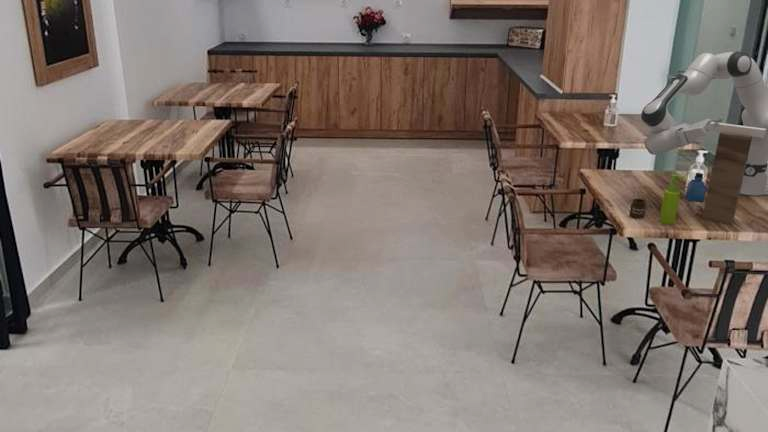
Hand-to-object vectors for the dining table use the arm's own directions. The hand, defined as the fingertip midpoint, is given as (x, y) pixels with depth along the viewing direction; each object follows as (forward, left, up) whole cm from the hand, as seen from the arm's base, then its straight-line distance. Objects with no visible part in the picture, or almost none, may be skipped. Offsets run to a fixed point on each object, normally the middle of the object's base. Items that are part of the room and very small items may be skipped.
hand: (720, 121), depth 260 cm
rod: (0, +6, -4) cm, 7 cm away
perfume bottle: (-20, -6, -40) cm, 45 cm away
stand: (0, +7, -40) cm, 40 cm away
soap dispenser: (+16, -10, -40) cm, 44 cm away
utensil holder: (+17, -22, -40) cm, 49 cm away
